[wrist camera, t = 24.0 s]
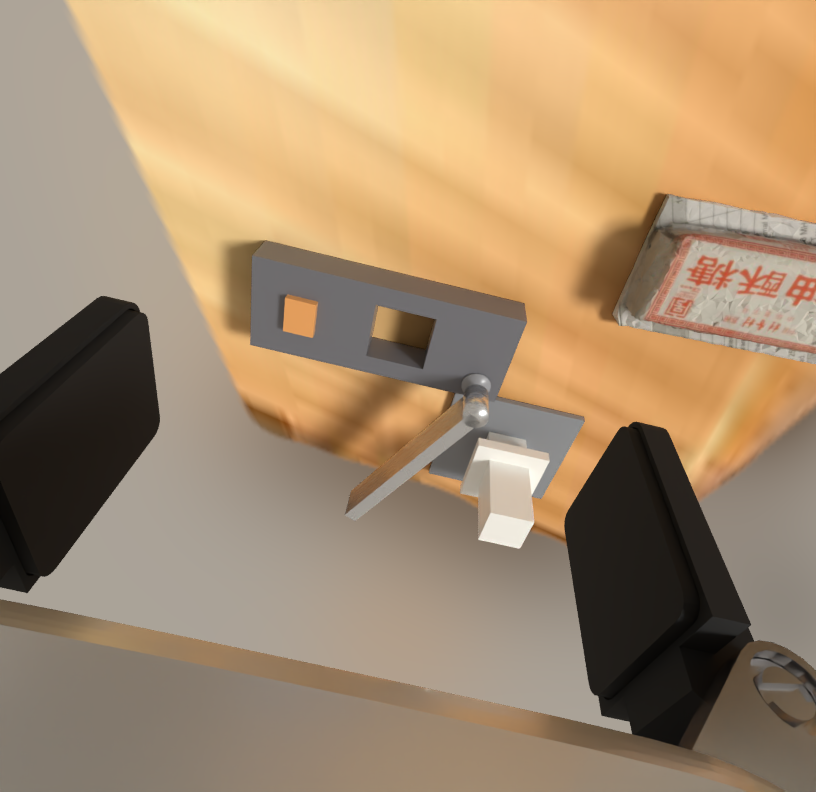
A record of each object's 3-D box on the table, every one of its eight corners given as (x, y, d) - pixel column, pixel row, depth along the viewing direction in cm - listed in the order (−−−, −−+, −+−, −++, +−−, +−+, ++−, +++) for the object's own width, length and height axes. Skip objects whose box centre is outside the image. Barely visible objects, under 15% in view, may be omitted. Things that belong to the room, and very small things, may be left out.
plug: (461, 464, 52) (457, 545, 44) (478, 417, 48) (478, 497, 40) (523, 478, 52) (530, 561, 45) (545, 432, 48) (557, 515, 41)
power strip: (262, 326, 45) (247, 348, 43) (265, 240, 41) (249, 258, 38) (493, 381, 46) (494, 406, 43) (524, 303, 41) (527, 325, 39)
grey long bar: (364, 499, 51) (358, 523, 49) (347, 488, 51) (341, 513, 48) (493, 394, 42) (494, 417, 39) (475, 380, 41) (475, 403, 39)
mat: (429, 469, 54) (428, 473, 53) (456, 386, 47) (456, 390, 47) (540, 494, 54) (541, 498, 54) (583, 416, 48) (584, 421, 47)
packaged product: (619, 347, 38) (685, 211, 32) (606, 315, 42) (663, 189, 36) (860, 394, 38) (971, 268, 32) (825, 358, 42) (918, 239, 36)
